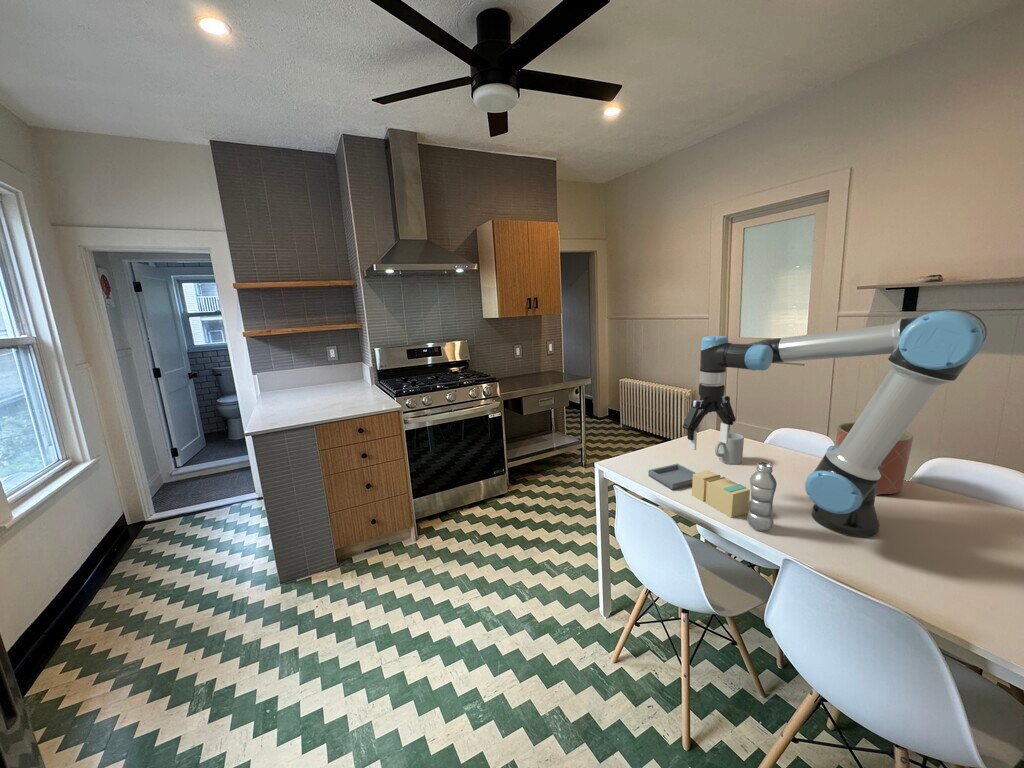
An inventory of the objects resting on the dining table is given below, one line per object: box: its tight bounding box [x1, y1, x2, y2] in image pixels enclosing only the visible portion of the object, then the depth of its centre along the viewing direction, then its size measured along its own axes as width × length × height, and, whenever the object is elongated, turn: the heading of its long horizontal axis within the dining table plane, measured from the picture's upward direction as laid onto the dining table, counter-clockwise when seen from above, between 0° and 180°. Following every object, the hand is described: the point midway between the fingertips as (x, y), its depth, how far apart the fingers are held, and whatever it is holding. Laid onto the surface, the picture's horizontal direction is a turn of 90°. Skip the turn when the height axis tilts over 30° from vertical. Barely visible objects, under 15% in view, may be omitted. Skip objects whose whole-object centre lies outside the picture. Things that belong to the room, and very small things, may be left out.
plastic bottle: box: [746, 461, 778, 532], centre depth 112 cm, size 6×7×20 cm
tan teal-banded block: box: [703, 476, 751, 519], centre depth 125 cm, size 11×7×8 cm, turn 20°
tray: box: [647, 463, 696, 491], centre depth 147 cm, size 13×14×2 cm
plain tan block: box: [691, 470, 722, 503], centre depth 133 cm, size 5×7×8 cm
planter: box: [835, 422, 914, 496], centre depth 134 cm, size 19×19×20 cm
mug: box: [714, 432, 745, 466], centre depth 159 cm, size 12×8×11 cm
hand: (708, 445), depth 130 cm, fingers open, 13 cm apart
